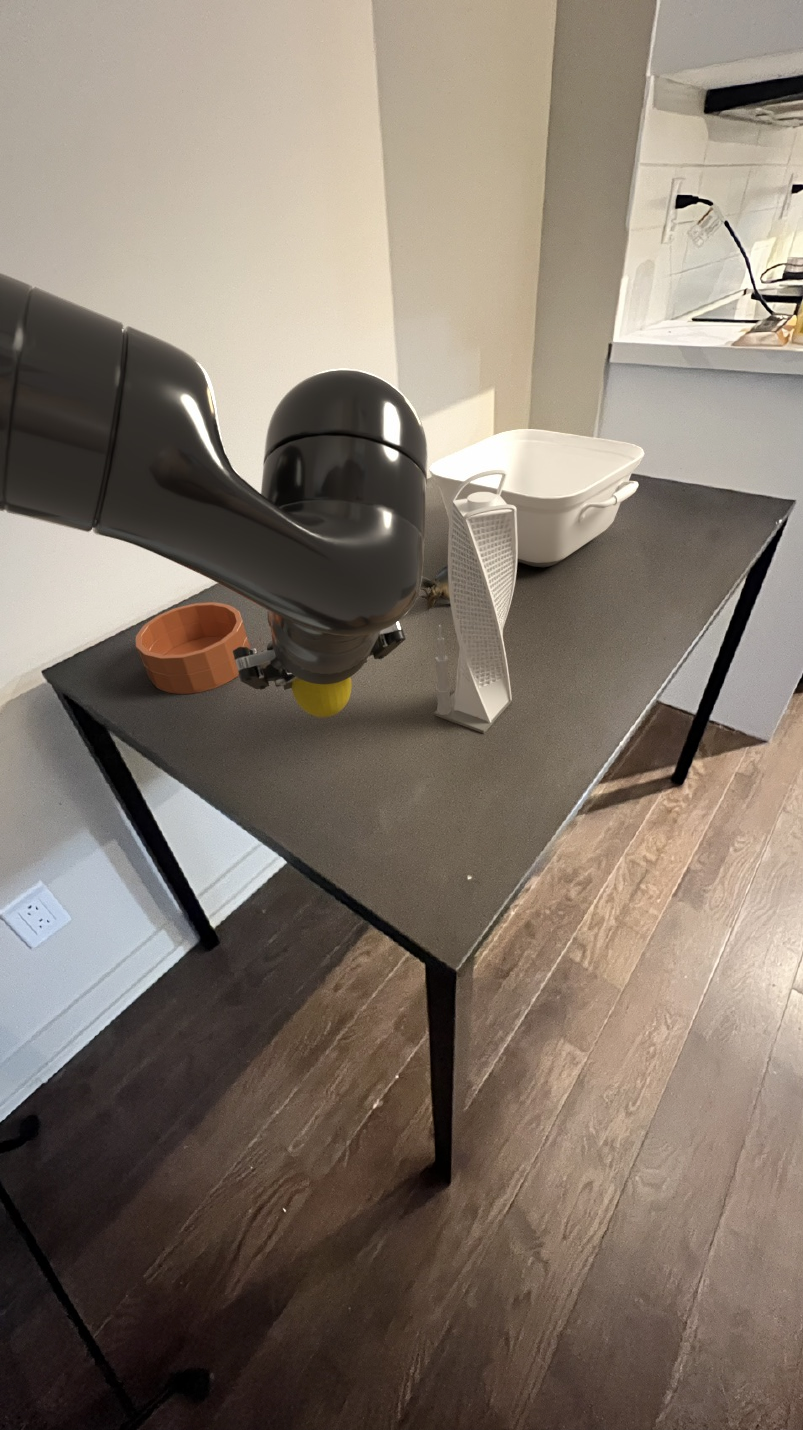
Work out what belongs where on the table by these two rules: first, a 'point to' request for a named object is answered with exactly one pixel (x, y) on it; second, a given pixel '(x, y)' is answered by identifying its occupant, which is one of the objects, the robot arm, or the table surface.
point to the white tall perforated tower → (478, 606)
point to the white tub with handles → (547, 486)
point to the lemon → (322, 697)
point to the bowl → (192, 647)
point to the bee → (436, 587)
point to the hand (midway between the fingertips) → (317, 670)
